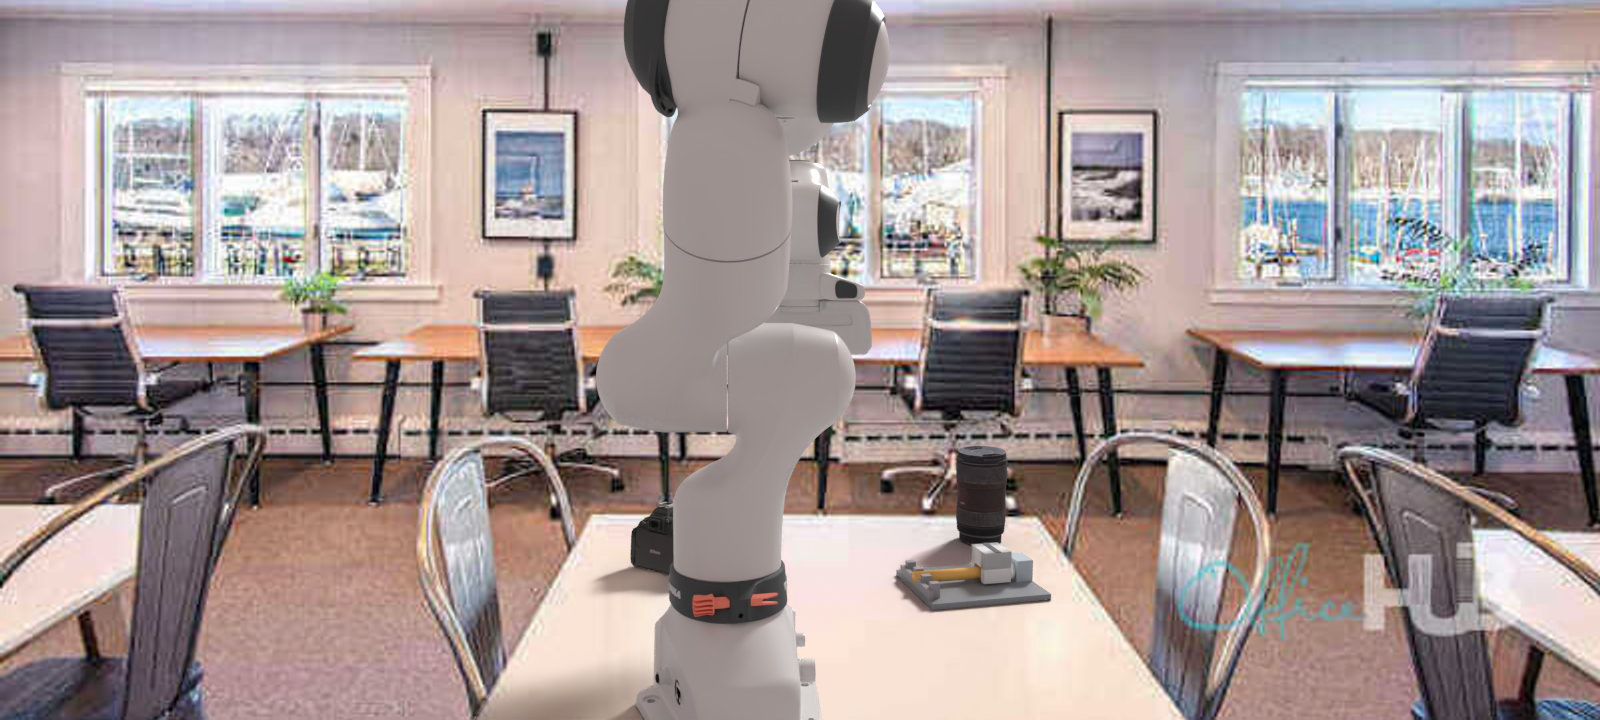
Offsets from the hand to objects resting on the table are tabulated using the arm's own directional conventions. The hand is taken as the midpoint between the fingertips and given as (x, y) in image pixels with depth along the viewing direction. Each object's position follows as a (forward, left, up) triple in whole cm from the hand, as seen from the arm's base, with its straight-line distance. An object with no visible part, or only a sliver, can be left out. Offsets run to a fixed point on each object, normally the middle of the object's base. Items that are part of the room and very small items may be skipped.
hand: (796, 389), depth 127 cm
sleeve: (-4, -27, -27) cm, 38 cm away
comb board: (-4, -24, -28) cm, 37 cm away
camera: (+12, +15, -28) cm, 34 cm away
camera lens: (+16, -35, -28) cm, 47 cm away
